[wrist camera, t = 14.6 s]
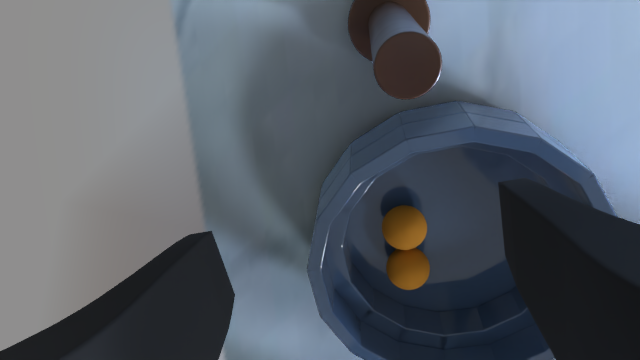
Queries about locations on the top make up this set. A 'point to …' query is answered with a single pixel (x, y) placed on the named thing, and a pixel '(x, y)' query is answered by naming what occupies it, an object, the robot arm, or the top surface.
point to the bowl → (436, 234)
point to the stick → (396, 44)
